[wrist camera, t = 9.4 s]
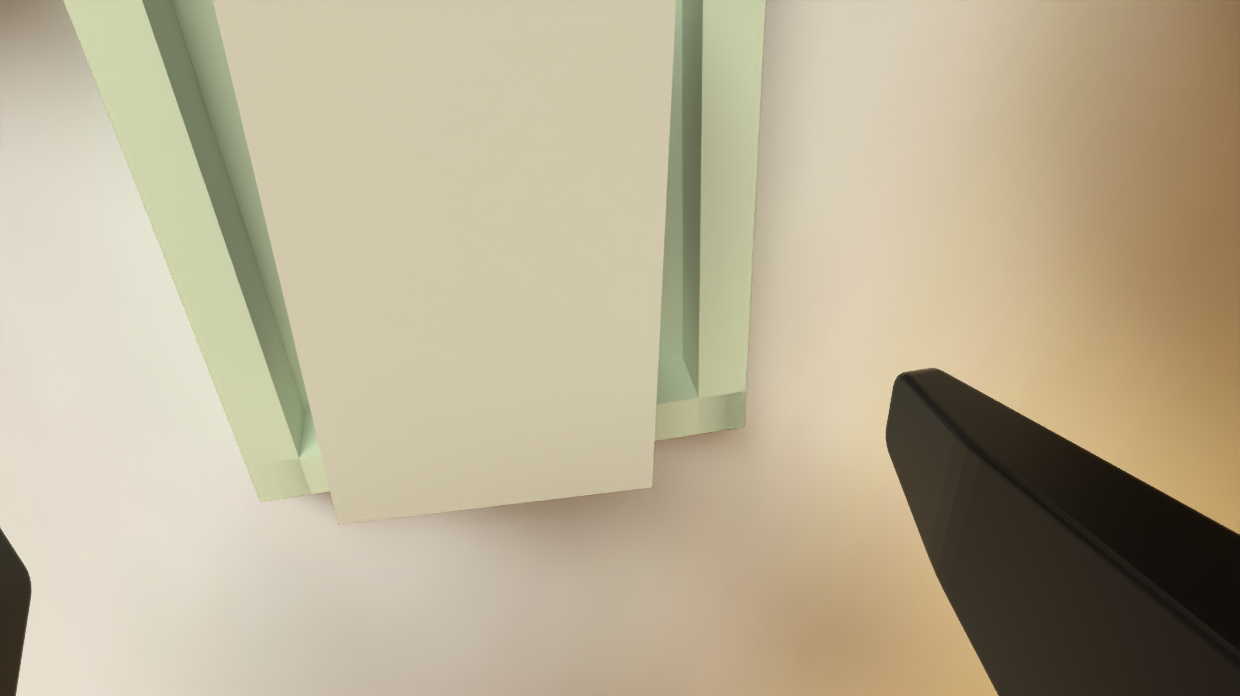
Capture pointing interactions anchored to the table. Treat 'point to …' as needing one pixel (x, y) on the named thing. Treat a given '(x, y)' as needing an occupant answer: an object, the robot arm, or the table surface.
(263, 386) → the tray
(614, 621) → the table surface
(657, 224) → the beige gray rectangular block
